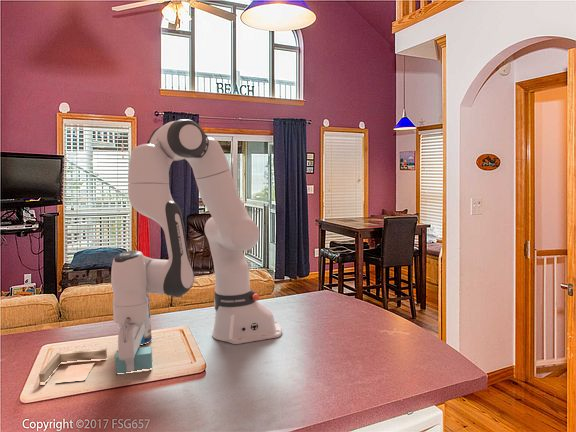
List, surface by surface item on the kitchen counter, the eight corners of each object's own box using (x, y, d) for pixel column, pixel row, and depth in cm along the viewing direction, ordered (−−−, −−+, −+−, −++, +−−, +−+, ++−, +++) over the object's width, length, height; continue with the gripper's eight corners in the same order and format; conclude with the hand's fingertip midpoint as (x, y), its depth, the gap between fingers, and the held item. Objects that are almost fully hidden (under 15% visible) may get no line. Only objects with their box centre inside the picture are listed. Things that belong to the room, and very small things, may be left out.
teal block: (152, 363, 122) (151, 346, 122) (152, 371, 118) (151, 353, 117) (118, 368, 120) (117, 350, 120) (116, 376, 115) (115, 357, 115)
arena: (107, 358, 126) (106, 348, 126) (95, 380, 113) (94, 368, 112) (57, 363, 124) (57, 353, 123) (39, 385, 110) (39, 374, 110)
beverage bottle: (119, 343, 138) (115, 280, 136) (143, 335, 144) (140, 275, 142) (132, 350, 132) (128, 284, 130) (157, 341, 138) (154, 279, 136)
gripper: (137, 324, 108) (140, 378, 109) (148, 301, 128) (150, 347, 129) (110, 326, 107) (113, 381, 108) (125, 302, 127) (128, 349, 128)
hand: (133, 362), depth 119 cm, fingers open, 8 cm apart
